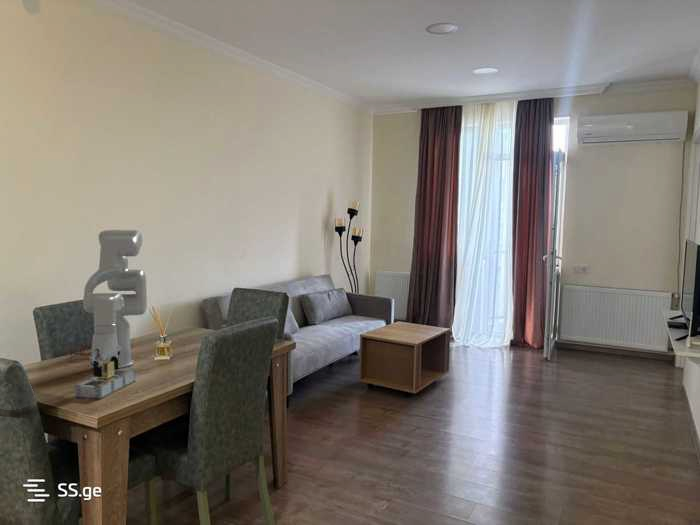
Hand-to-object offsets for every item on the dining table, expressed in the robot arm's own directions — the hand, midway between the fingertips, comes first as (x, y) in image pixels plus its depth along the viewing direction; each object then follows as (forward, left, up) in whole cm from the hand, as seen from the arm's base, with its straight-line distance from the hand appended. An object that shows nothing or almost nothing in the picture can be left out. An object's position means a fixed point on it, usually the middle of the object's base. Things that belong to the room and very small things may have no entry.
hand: (106, 373), depth 201 cm
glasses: (-39, +43, -7) cm, 58 cm away
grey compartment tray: (0, 0, -6) cm, 6 cm away
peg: (0, 0, -6) cm, 6 cm away
